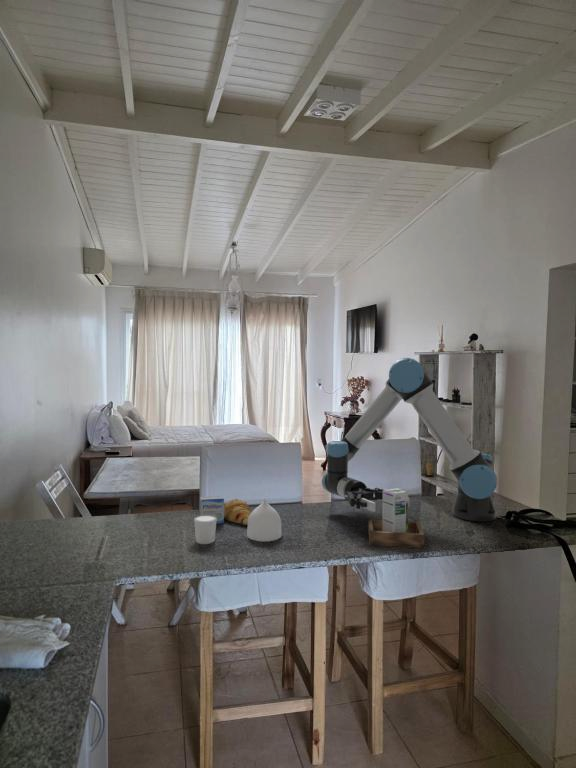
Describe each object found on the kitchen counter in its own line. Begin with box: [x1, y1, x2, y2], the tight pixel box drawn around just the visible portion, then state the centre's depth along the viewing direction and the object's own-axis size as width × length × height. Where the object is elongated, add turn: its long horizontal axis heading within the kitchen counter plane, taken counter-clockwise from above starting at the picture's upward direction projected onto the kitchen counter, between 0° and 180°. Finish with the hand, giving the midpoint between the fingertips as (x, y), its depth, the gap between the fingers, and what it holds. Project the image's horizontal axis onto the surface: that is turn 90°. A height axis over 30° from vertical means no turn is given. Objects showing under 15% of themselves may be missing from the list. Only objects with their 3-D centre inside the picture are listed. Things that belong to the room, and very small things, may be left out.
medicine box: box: [199, 495, 225, 525], centre depth 172 cm, size 8×4×9 cm, turn 105°
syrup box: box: [381, 487, 409, 533], centre depth 157 cm, size 6×6×14 cm
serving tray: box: [367, 518, 425, 549], centre depth 157 cm, size 16×13×4 cm
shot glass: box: [193, 515, 217, 545], centre depth 154 cm, size 7×7×7 cm
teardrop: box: [246, 498, 283, 542], centre depth 160 cm, size 11×11×12 cm
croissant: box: [224, 498, 253, 526], centre depth 177 cm, size 21×10×8 cm, turn 31°
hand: (392, 504), depth 158 cm, fingers open, 13 cm apart
